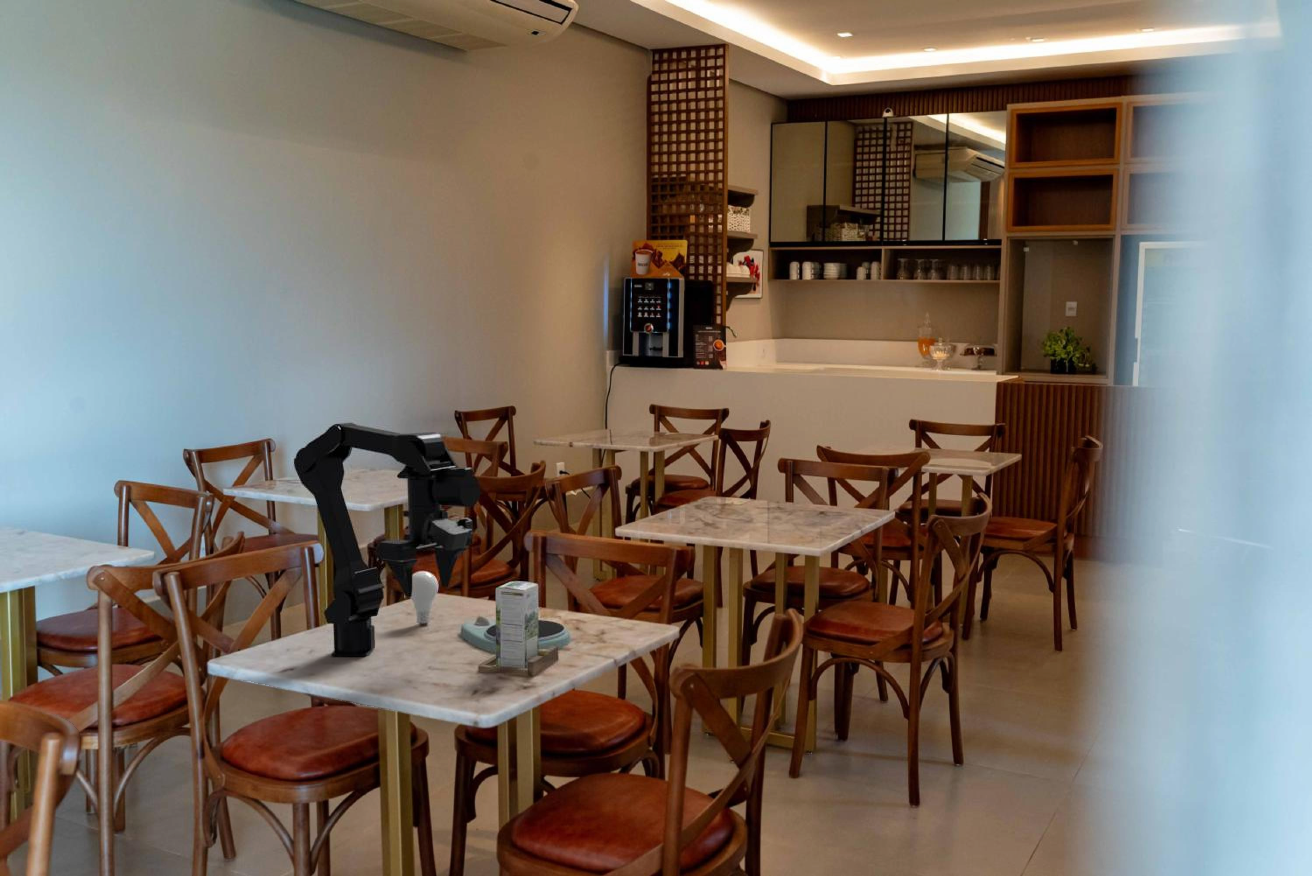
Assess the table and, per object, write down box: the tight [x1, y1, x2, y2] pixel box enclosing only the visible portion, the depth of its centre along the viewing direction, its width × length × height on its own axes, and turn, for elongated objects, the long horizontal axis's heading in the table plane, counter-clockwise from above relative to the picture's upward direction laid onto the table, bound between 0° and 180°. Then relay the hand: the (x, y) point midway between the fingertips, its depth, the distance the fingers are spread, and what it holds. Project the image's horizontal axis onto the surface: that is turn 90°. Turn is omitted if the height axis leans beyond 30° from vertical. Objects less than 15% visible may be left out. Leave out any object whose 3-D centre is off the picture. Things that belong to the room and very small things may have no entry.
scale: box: [460, 615, 572, 654], centre depth 218 cm, size 18×4×25 cm
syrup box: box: [495, 580, 539, 668], centre depth 199 cm, size 6×6×14 cm
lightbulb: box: [409, 570, 439, 626], centre depth 230 cm, size 6×6×11 cm
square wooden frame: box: [477, 646, 559, 677], centre depth 199 cm, size 11×11×3 cm
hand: (427, 592), depth 200 cm, fingers open, 9 cm apart
